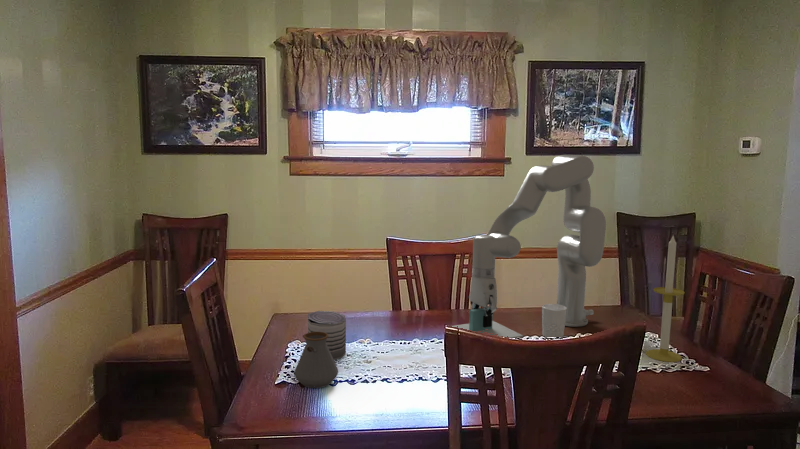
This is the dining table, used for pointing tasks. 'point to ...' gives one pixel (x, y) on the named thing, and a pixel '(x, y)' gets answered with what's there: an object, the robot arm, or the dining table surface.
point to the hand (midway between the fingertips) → (481, 323)
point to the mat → (495, 330)
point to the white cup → (553, 320)
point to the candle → (667, 310)
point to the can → (330, 330)
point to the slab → (477, 320)
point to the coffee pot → (316, 362)
